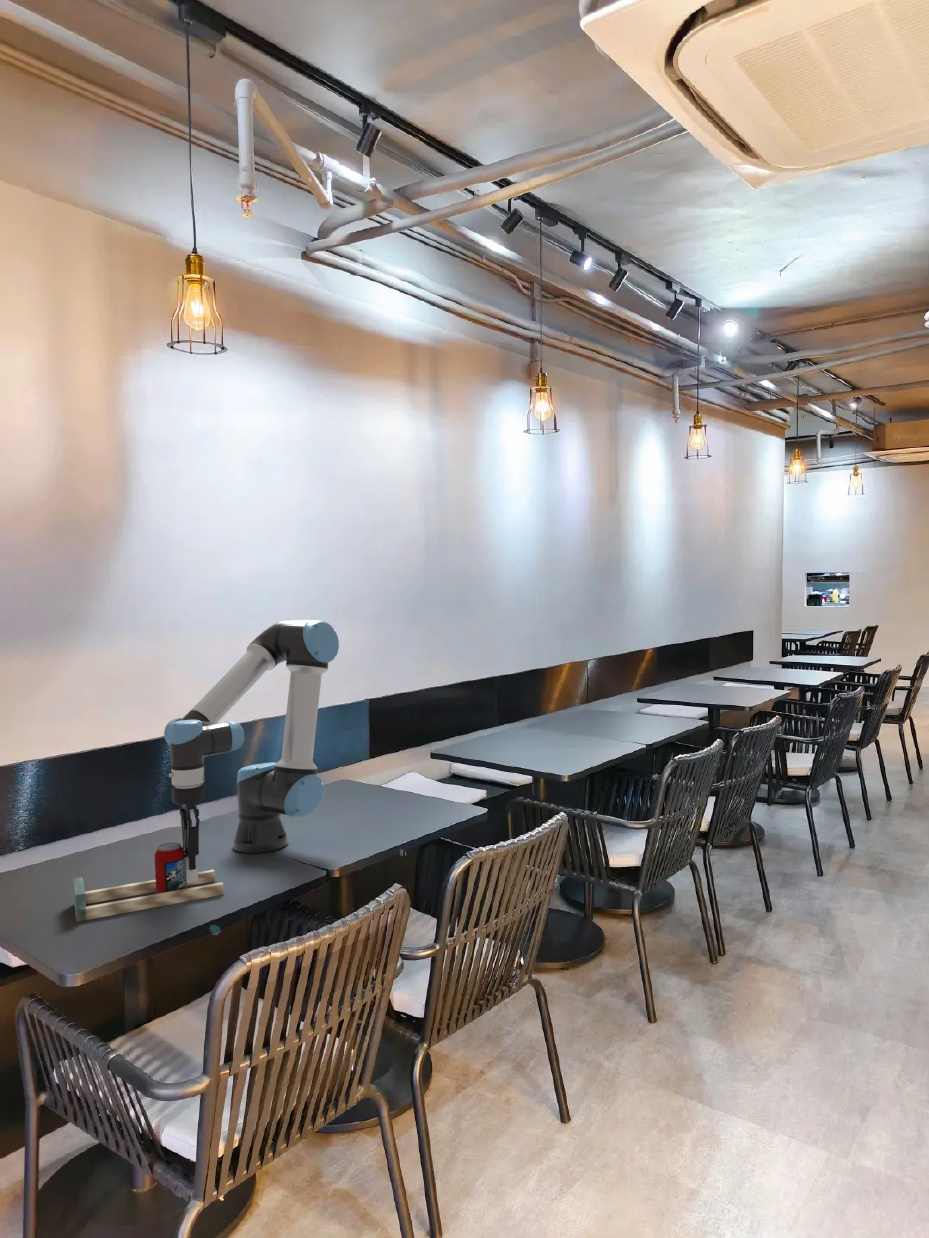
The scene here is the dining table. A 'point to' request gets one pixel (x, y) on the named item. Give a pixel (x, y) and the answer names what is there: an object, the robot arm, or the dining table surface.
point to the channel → (140, 902)
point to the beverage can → (170, 868)
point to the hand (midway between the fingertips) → (191, 881)
